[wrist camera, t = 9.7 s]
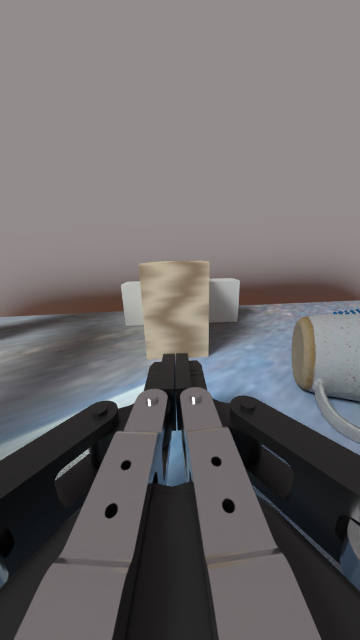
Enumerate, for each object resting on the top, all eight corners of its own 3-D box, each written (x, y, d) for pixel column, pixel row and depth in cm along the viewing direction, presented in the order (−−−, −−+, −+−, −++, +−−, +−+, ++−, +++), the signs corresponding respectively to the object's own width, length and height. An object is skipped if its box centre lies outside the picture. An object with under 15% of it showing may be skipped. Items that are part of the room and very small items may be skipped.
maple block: (147, 359, 26) (138, 264, 23) (156, 325, 40) (152, 261, 36) (208, 357, 26) (209, 261, 23) (197, 323, 40) (196, 260, 36)
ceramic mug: (285, 365, 24) (294, 301, 21) (372, 375, 21) (393, 304, 19) (306, 441, 14) (326, 341, 12) (469, 477, 12) (537, 358, 9)
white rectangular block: (125, 326, 40) (120, 285, 37) (131, 318, 44) (127, 281, 42) (237, 321, 40) (239, 280, 37) (230, 314, 45) (232, 278, 42)
